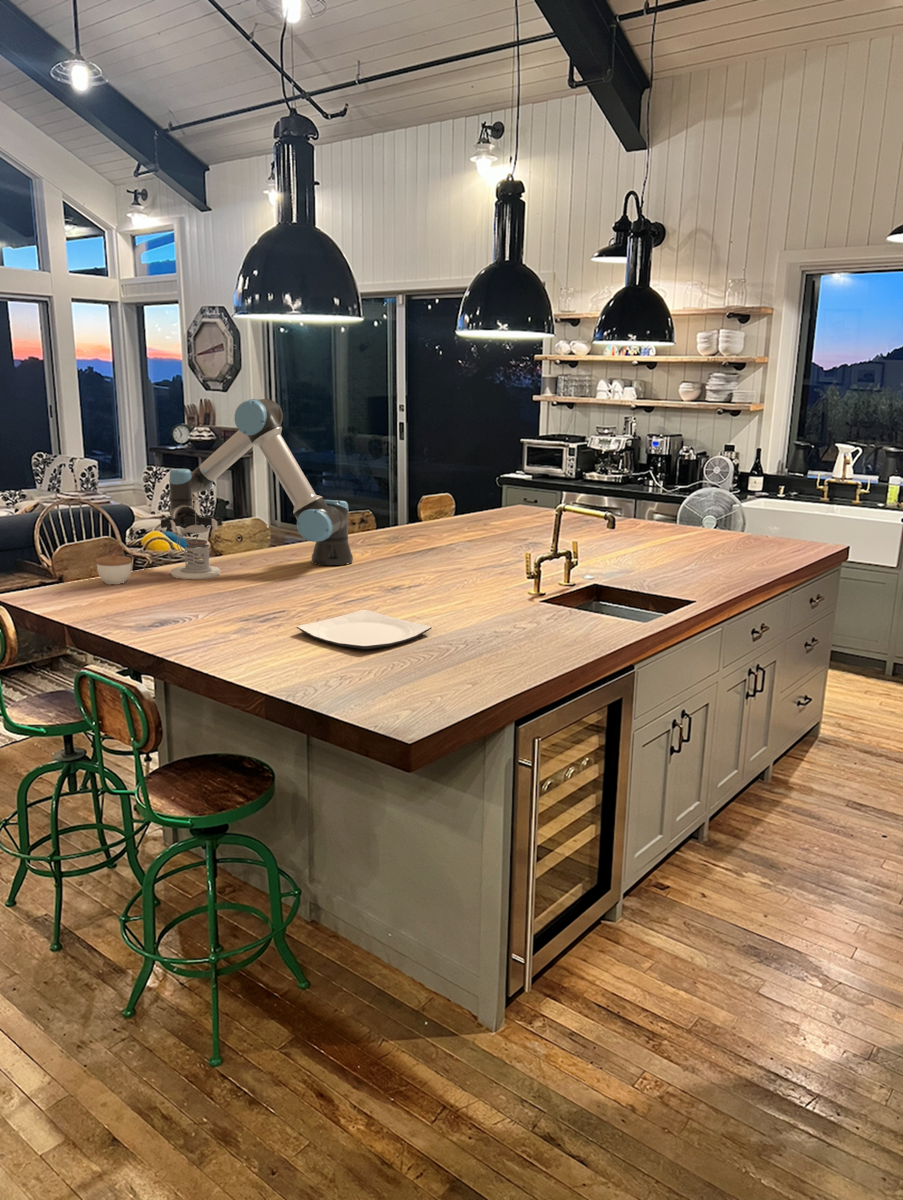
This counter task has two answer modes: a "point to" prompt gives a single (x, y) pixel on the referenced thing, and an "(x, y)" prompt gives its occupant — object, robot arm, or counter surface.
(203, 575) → the disc
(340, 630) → the plate
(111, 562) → the lidded jar
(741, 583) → the counter surface
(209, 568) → the french press
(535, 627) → the counter surface
